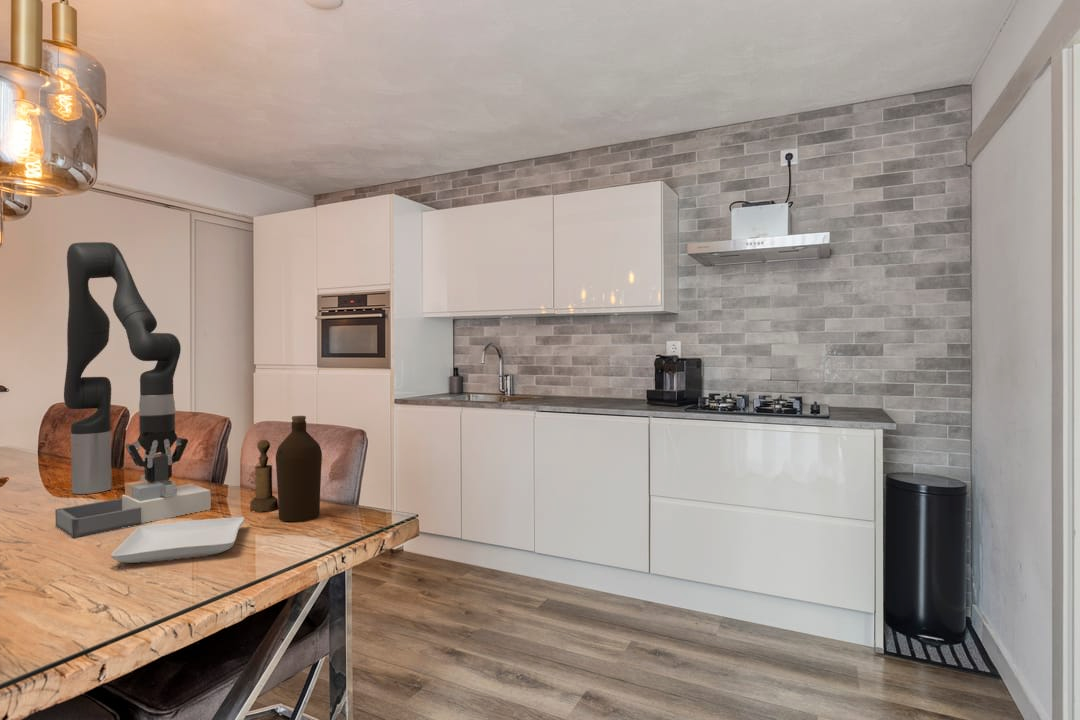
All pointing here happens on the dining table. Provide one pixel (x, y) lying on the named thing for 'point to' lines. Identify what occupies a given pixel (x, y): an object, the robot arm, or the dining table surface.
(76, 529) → the box
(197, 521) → the salad plate
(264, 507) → the brown chess piece
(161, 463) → the scraper
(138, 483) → the tan block
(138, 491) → the pale grey box
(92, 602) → the dining table surface
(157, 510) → the long rectangular box
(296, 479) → the olive oil
